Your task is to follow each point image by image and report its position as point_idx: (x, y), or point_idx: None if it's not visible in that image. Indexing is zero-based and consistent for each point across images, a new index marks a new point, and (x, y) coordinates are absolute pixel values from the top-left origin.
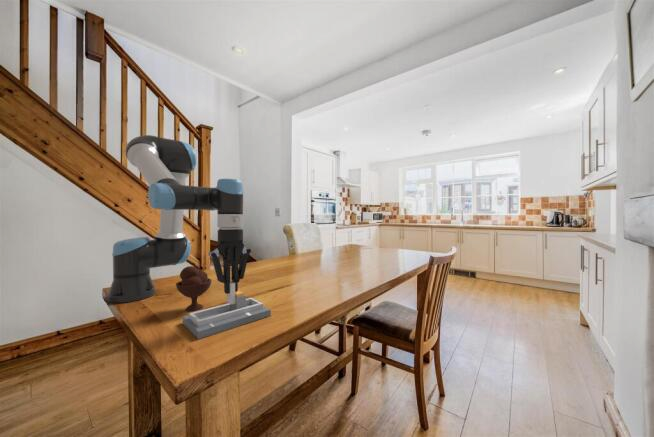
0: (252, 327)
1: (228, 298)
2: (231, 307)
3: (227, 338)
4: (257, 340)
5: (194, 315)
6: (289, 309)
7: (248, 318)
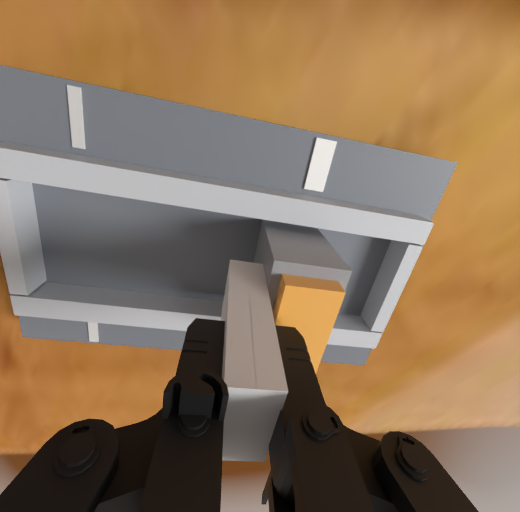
0: None
1: (225, 298)
2: (259, 244)
3: (134, 375)
4: None
5: (8, 215)
6: (439, 351)
7: None
